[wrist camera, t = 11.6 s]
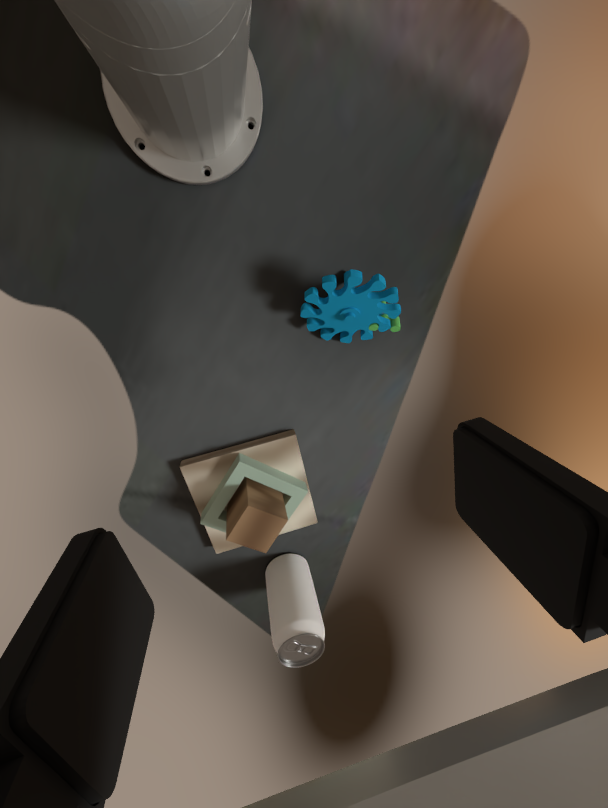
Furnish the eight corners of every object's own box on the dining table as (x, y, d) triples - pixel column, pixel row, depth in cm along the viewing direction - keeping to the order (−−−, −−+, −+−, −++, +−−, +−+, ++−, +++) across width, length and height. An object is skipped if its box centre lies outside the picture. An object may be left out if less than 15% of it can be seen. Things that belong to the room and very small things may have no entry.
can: (279, 546, 49) (292, 626, 38) (316, 559, 51) (339, 638, 40) (256, 578, 50) (263, 664, 39) (293, 589, 52) (309, 674, 41)
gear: (283, 329, 36) (336, 265, 28) (286, 286, 38) (335, 215, 30) (366, 358, 41) (432, 311, 33) (364, 318, 43) (425, 265, 35)
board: (181, 460, 41) (179, 467, 39) (293, 429, 42) (295, 434, 41) (216, 545, 46) (216, 553, 45) (315, 515, 48) (317, 522, 46)
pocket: (201, 512, 42) (200, 523, 40) (239, 452, 40) (239, 461, 38) (267, 536, 46) (268, 547, 44) (305, 482, 44) (308, 491, 42)
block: (226, 505, 43) (225, 540, 37) (246, 474, 42) (248, 505, 36) (261, 518, 44) (265, 553, 39) (281, 488, 43) (288, 520, 38)
